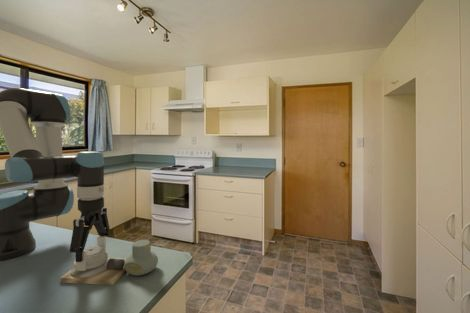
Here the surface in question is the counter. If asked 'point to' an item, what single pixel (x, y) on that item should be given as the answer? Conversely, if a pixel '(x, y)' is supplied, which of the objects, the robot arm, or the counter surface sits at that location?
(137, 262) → the grey rounded piece
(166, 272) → the counter surface
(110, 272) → the flange board
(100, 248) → the mechanical component
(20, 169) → the robot arm
